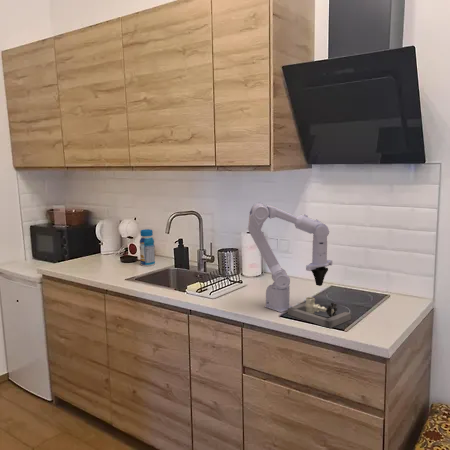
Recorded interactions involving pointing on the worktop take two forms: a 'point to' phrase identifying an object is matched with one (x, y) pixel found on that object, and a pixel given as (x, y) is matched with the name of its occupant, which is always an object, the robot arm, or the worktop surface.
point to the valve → (319, 307)
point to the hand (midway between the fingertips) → (319, 285)
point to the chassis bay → (333, 321)
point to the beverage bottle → (147, 248)
